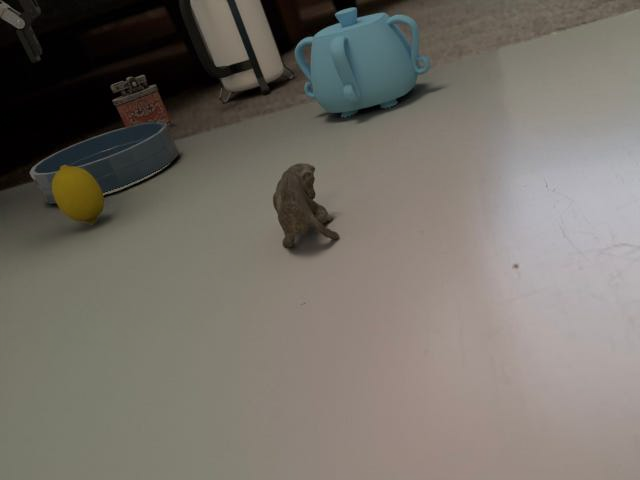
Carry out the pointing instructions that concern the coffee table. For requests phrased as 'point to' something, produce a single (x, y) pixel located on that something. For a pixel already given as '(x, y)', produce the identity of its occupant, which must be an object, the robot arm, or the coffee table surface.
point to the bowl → (112, 157)
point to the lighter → (140, 102)
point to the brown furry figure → (299, 204)
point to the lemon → (77, 194)
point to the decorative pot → (361, 62)
